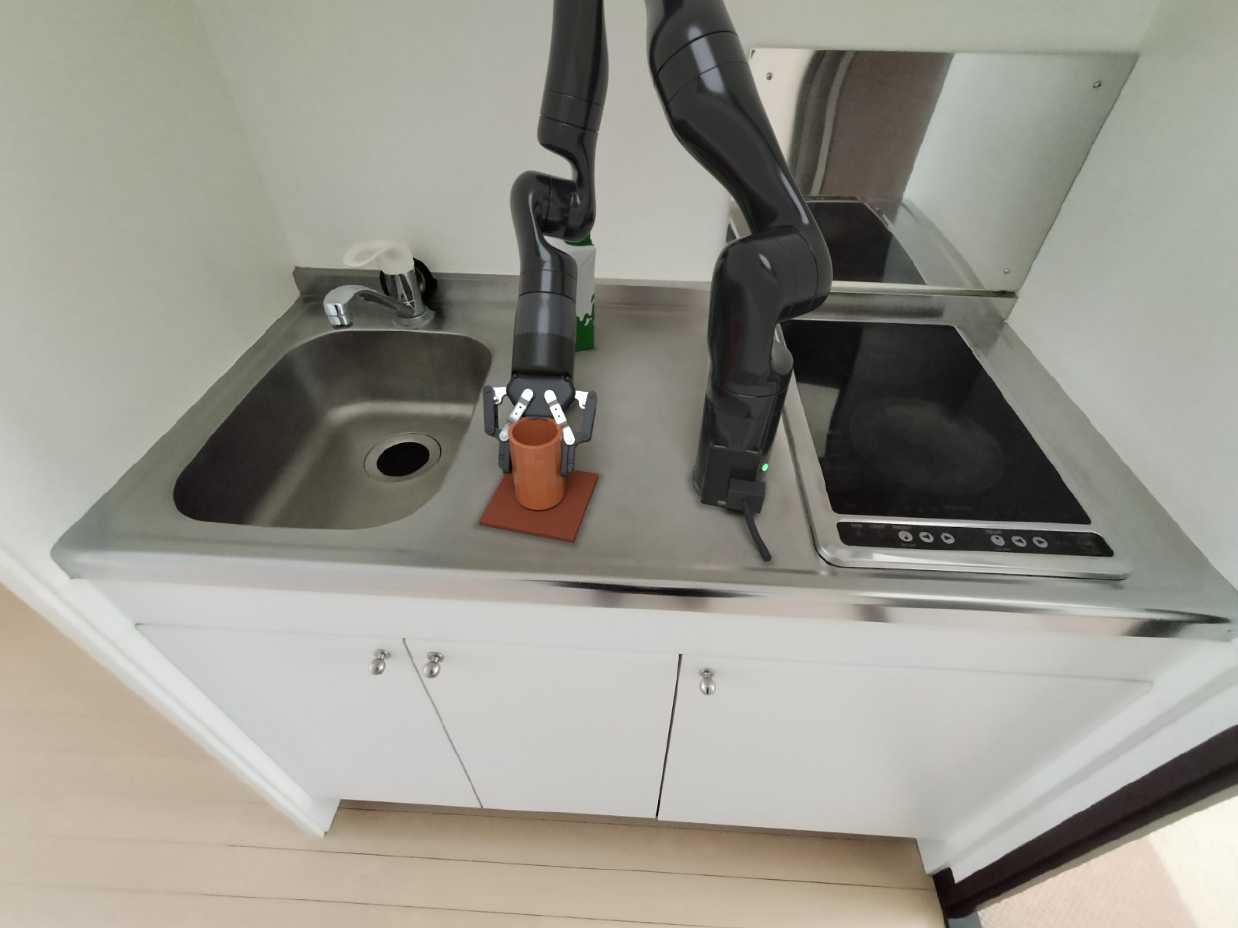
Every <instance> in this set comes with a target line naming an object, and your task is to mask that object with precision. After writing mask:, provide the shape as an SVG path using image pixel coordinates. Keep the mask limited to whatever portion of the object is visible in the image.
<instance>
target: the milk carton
mask: <svg viewBox="0 0 1238 928" xmlns="http://www.w3.org/2000/svg"><path fill="white" fill-rule="evenodd" d="M544 238H545V239H546V241H547V242H548V243H549V244H551V245H552V246H554V247H556V248H558V249H560V250H562V251H564V252H566V253H567V254H569V255H571V256H572V257H573V258H574V259H575V261H576V263H577V267H578V278H577V293H576V319H577V327H576V333H577V339H576V343H575V352H579V351H580V352H581V351H586V350H591V349H594V348H595V268H596V257H597V247H596V246H595V245H594V243H593V240H592V238H591V232H590V233H589V235H588V236H587V237H586V238H585V239H583V240H581V241H579V242H570V241H565V240H561V239H556V238H552V237H547V236H544Z"/></svg>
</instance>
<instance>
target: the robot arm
mask: <svg viewBox="0 0 1238 928" xmlns="http://www.w3.org/2000/svg"><path fill="white" fill-rule="evenodd" d="M552 1H553V3H552V18H551V19H552V20H551V21H552V22H551V33H550V34H551V35H550V43H549V44H550V45H549V52H548V60H547V61H548V62H547V67H546V73H545V79H544V85H543V91H542V97H541V104H540V110H539V115H538V121H537V128H536V141H537V142H538V144H539V145H540V146H541V147H542V148H544V149H545V150H547V151H549V152H550V153H552V154H555V155H556V156H558V157H561V158H562V159H563V160H565V161H566V162H567V163H568V165H569V167H570V170H571V179H570V178H566V177H562V176H558V175H553V174H549V173H546V172H542V171H537V170H531V169H530V170H525V171H523V172H521V173H520V174H519V175H518V176H517V177H516V178H515V179H514V181H513V183H512V184H511V188H510V193H509V209H510V215H511V216H510V217H511V221H512V227H513V230H514V234H515V238H516V243H517V249H518V256H519V257H518V258H519V280H518V281H519V283H518V297H517V304H516V305H517V306H516V310H515V314H514V325H513V338H512V356H511V368H510V369H511V370H510V372H511V373H510V379H509V381H508V383H507V384H506V386H497V387H492V386H491V385H485V386H484V387H483V388H482V401H483V402H482V403H483V405H482V406H483V429H484V433H485V434H486V435H487V436H489V437H492V438H494V439H497V441H498V444H499V445H498V458H497V459H498V460H497V465H498V468H499V469H501V470H502V474H503V475H505V474H512V463H511V455H510V447H509V439H508V430H509V428H510V425H511V424H513V423H514V422H518V421H519V420H520V419H521V418H523V417H526V418H528V419H531V420H533V419H538V418H540V419H543V420H547V419H555V421H556V423H557V425H561V429H562V438H563V441H564V443H563V446H562V462H561V477H567V478H568V473H572V472H573V470H575V462H576V461H575V460H576V448H577V447H578V446H579V445H581V444H584V443H589V442H591V441H592V437H593V430H594V425H595V419H596V412H597V406H598V401H599V397H598V395H597V392H596V391H593V390H590V391H581V390H577V389H576V387H575V383H574V384H573V380H574V374H575V359H576V351H575V343H576V339H577V333H576V327H577V319H576V293H577V278H578V267H577V263H576V261H575V259H574V258H573V257H572V256H571V255H569V254H567V253H566V252H564V251H562V250H560V249H558V248H556V247H554V246H552V245H551V244H549V243H548V242H547V241H546V239H545V238H544V236H547V237H552V238H556V239H561V240H565V241H570V242H579V241H581V240H583V239H585V238H586V237H587V236H588V235H589V233H590V234H591V232H592V230H593V229H594V226H595V223H596V218H597V217H596V216H597V199H596V198H597V197H596V153H597V143H598V139H599V132H600V130H601V129H600V128H601V123H602V119H603V114H604V110H605V104H606V99H607V96H608V95H607V94H608V88H609V79H610V78H609V76H610V58H609V45H608V44H609V43H608V34H607V26H606V25H607V24H606V13H605V12H606V11H605V0H552ZM643 2H644V6H645V13H646V28H645V31H646V32H645V51H646V52H645V53H646V63H647V68H648V73H649V76H650V81H651V83H652V85H653V89H654V91H655V94H656V96H657V100H658V101H659V104H660V107H661V111H662V112H663V115H664V117H665V120H666V123H667V124H668V127H669V129H670V131H671V133H672V135H673V136H674V138H675V139H676V141H677V142H678V143H679V144H680V145H681V147H682V148H683V149H684V150H685V151H686V152H687V153H688V154H689V156H690V157H691V158H692V159H693V160H694V161H696V162H697V164H698V165H700V166H701V167H702V168H703V169H704V170H705V171H706V172H707V173H708V174H709V175H710V176H712V178H714V179H715V180H716V181H717V182H718V183H719V184H720V185H721V186H722V187H723V188H724V189H725V190H726V191H727V193H728V194H729V195H730V197H731V198H732V199H733V201H734V202H735V204H736V205H737V207H738V209H739V210H740V212H741V214H742V217H743V219H744V221H745V223H746V226H747V228H748V230H749V232H750V234H748V235H743V236H741V237H737V238H735V239H733V240H731V241H729V242H728V243H726V245H724V246H723V247H722V249H721V250H720V252H719V254H718V256H717V258H716V260H715V263H714V266H713V271H712V276H711V283H710V293H709V294H710V295H709V303H708V304H709V306H708V319H707V330H706V342H707V343H706V344H707V351H708V354H709V367H708V375H707V381H706V387H705V393H704V401H703V407H702V414H701V422H700V428H699V435H698V441H697V447H696V448H697V449H696V455H695V462H694V463H695V464H694V469H693V473H692V485H693V488H694V490H695V492H696V493H697V494H698V495H699V496H700V503H701V504H706V505H707V504H708V505H713V506H718V507H724V508H725V509H731V510H738V511H743V515H744V518H745V522H746V524H747V528H748V530H749V532H750V535H751V538H752V540H753V541H754V544H755V545H756V546H757V549H758V550H759V552H760V554H761V555H762V557H763V560H764V561H765V562H769V561H771V560H772V558H773V556H772V555H771V553H770V551H769V549H768V547H767V545H766V544H765V542H764V541H763V540H764V539H762V537H761V535H760V533H759V530H758V528H757V527H758V526H757V525H756V522H755V519H754V516H753V513H754V514H760V515H761V513H762V510H763V505H764V501H765V497H766V487H767V486H766V485H767V483H766V478H767V473H768V470H769V464H770V461H771V457H772V454H773V451H774V445H775V442H776V437H777V434H778V430H779V426H780V422H781V418H782V414H783V409H784V406H785V404H786V399H787V395H788V390H789V387H790V383H791V379H792V376H793V375H792V374H793V371H794V367H795V362H794V357H793V354H792V352H791V351H790V350H789V348H787V347H786V346H785V345H784V344H783V343H781V342H779V341H777V340H775V339H774V338H775V333H776V328H777V325H778V324H782V323H784V322H787V321H790V320H793V319H795V318H798V317H801V316H803V315H806V314H809V313H812V312H813V311H815V310H817V309H819V308H820V307H821V306H822V305H823V304H824V303H825V302H826V300H827V299H828V297H829V294H830V293H831V290H832V285H833V280H834V279H833V278H834V277H833V275H834V272H833V263H832V258H831V254H830V250H829V247H828V244H827V242H826V240H825V237H824V235H823V233H822V231H821V230H820V227H819V225H818V222H817V221H816V219H815V217H814V215H813V213H812V211H811V209H810V207H809V205H808V203H807V202H806V199H805V197H804V196H803V194H802V192H801V189H800V188H799V186H798V184H797V181H796V179H795V177H794V175H793V174H792V173H793V172H792V171H791V169H790V167H789V165H788V163H787V160H786V158H785V156H784V153H783V151H782V149H781V146H780V144H779V141H778V138H777V136H776V133H775V131H774V129H773V126H772V124H771V121H770V118H769V116H768V113H767V111H766V109H765V107H764V104H763V101H762V99H761V96H760V92H759V90H758V88H757V84H756V81H755V78H754V74H753V72H752V69H751V67H750V63H749V61H748V58H747V56H746V53H745V51H744V50H745V49H744V48H743V45H742V41H741V40H740V36H739V35H738V32H737V29H736V27H735V25H734V23H733V21H732V18H731V16H730V13H729V11H728V9H727V6H726V4H725V1H724V0H643ZM505 397H507V398H508V399H509V401H510V403H511V404H512V405H513V409H512V411H511V413H510V414H509V416H508V417H507V420H506V423H505V424H504V425H503V428H502V429H501V428H500V427H499V406H501V405H502V404H503V402H504V399H505ZM575 400H577V401H578V403H579V404H578V405H579V408H580V410H582V411H583V414H582V415H583V416H582V421H581V428H580V431H578V432H576V433H574V432H573V430H572V426H571V425H570V422H569V420H568V418H567V416H566V412H567V411H568V410H569V409H568V408H569V407H570V405H571V404H572V403H573V402H574V403H575ZM574 403H573V404H574ZM567 409H568V410H567Z"/></svg>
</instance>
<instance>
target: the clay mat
mask: <svg viewBox="0 0 1238 928" xmlns="http://www.w3.org/2000/svg"><path fill="white" fill-rule="evenodd" d="M598 480H599V473H595V472H590V471H585V470H578V469H574V470H573V472H572V473H568V478H567V477H564V482H565V492H564V496H563V498H562V500H561V501H560V502H559V503H558V504H557V505H555V506H553V507H551V508H548V509H544V510H533V509H529V508H526V507H524V506H522V505H521V504H520V503H519V502H518V500H517V499H516V495H515V488H514V480H513V472H512V474H503V477H502V478H501V480H500V482H499V484H498V485H497V488H496V489H495V492H494V493H493V495H492V497H491V499H490V501H489V502H488V503H487V506H486V507H485V509H484V511H483V513H482V515H481V517H479V518H480V519H479V520H478V525H480V526H484V527H489V528H494V529H500V530H504V531H505V530H506V531H511V532H516V533H521V534H526V535H532V536H536V537H541V538H545V539H552V540H555V541H556V540H557V541H563V542H567V543H571V544H574V543H575V540H576V537H577V535H578V532H579V529H580V527H581V524H582V522H583V519H584V516H585V514H586V511H587V508H588V506H589V503H590V502H591V501H590V500H591V498H592V495H593V494H594V493H593V492H594V490H595V487H596V485H597V482H598Z"/></svg>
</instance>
